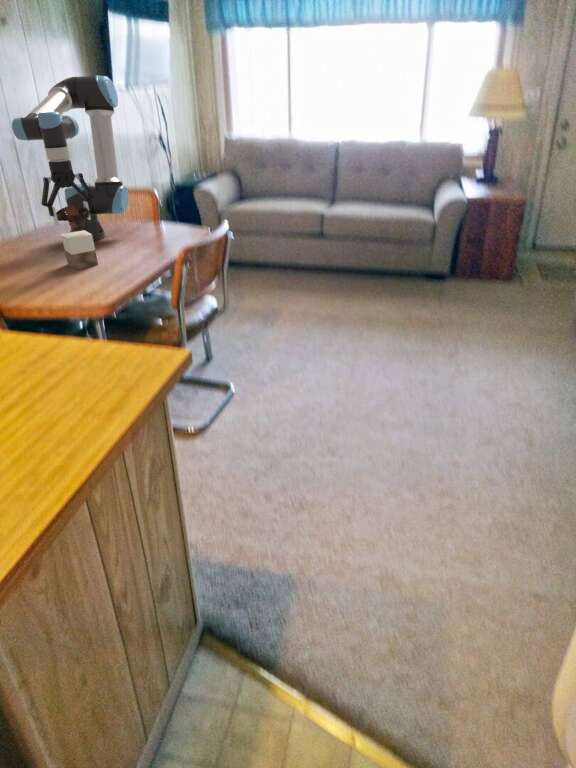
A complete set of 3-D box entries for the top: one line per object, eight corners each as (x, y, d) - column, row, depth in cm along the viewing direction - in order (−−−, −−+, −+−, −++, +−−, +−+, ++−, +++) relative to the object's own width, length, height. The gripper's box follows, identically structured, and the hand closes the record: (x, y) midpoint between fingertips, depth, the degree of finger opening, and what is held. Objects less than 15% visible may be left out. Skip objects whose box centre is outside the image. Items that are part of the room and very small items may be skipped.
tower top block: (87, 245, 216) (84, 230, 213) (95, 250, 210) (91, 234, 207) (64, 249, 212) (61, 234, 209) (71, 254, 205) (68, 238, 202)
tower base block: (90, 260, 219) (87, 245, 216) (98, 265, 213) (95, 250, 210) (68, 264, 215) (64, 249, 212) (75, 270, 208) (71, 254, 205)
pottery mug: (64, 231, 199) (52, 210, 197) (65, 237, 208) (54, 217, 206) (95, 218, 202) (83, 197, 201) (94, 225, 211) (83, 205, 210)
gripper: (88, 155, 203) (100, 215, 214) (21, 162, 191) (37, 225, 202) (95, 157, 198) (107, 218, 209) (27, 164, 186) (43, 229, 197)
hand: (73, 222), depth 205 cm, fingers closed on pottery mug, 11 cm apart
